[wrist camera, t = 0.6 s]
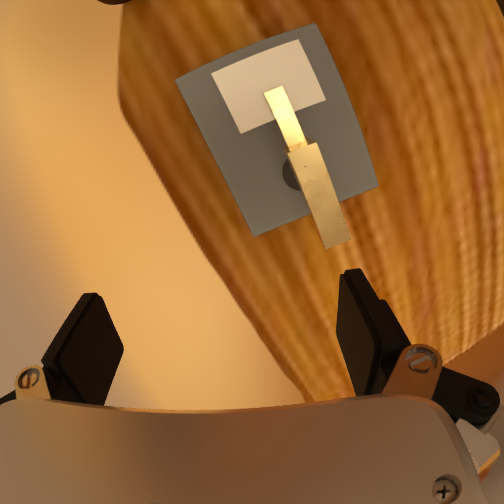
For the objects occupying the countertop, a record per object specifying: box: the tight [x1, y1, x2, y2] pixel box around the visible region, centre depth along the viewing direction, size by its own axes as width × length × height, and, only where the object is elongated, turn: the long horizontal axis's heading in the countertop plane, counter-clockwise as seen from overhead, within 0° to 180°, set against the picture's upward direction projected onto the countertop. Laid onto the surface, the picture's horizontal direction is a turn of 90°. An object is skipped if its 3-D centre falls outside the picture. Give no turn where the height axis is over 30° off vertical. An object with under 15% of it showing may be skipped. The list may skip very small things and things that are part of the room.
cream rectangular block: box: [211, 39, 326, 134], centre depth 26 cm, size 8×6×6 cm
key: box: [263, 86, 351, 249], centre depth 27 cm, size 2×14×9 cm, turn 24°
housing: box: [175, 23, 379, 237], centre depth 31 cm, size 16×20×2 cm
